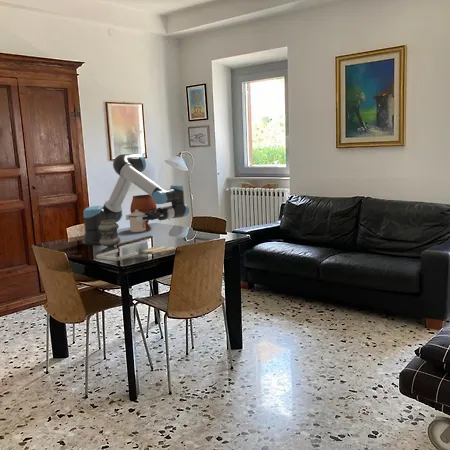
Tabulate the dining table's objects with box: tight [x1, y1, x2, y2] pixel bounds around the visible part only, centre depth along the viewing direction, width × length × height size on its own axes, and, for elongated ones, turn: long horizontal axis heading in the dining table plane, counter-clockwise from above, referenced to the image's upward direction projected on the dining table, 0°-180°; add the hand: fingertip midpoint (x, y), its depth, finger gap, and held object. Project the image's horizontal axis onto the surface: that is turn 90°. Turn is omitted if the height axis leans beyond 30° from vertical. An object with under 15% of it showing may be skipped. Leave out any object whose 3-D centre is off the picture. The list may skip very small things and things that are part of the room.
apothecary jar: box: [98, 220, 121, 253], centre depth 288 cm, size 12×12×18 cm
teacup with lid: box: [128, 210, 146, 233], centre depth 271 cm, size 12×9×12 cm
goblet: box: [129, 194, 157, 231], centre depth 358 cm, size 19×19×25 cm
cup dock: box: [95, 249, 139, 262], centre depth 274 cm, size 23×16×2 cm
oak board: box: [140, 245, 176, 256], centre depth 280 cm, size 16×14×1 cm
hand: (131, 218), depth 268 cm, fingers closed on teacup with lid, 11 cm apart
